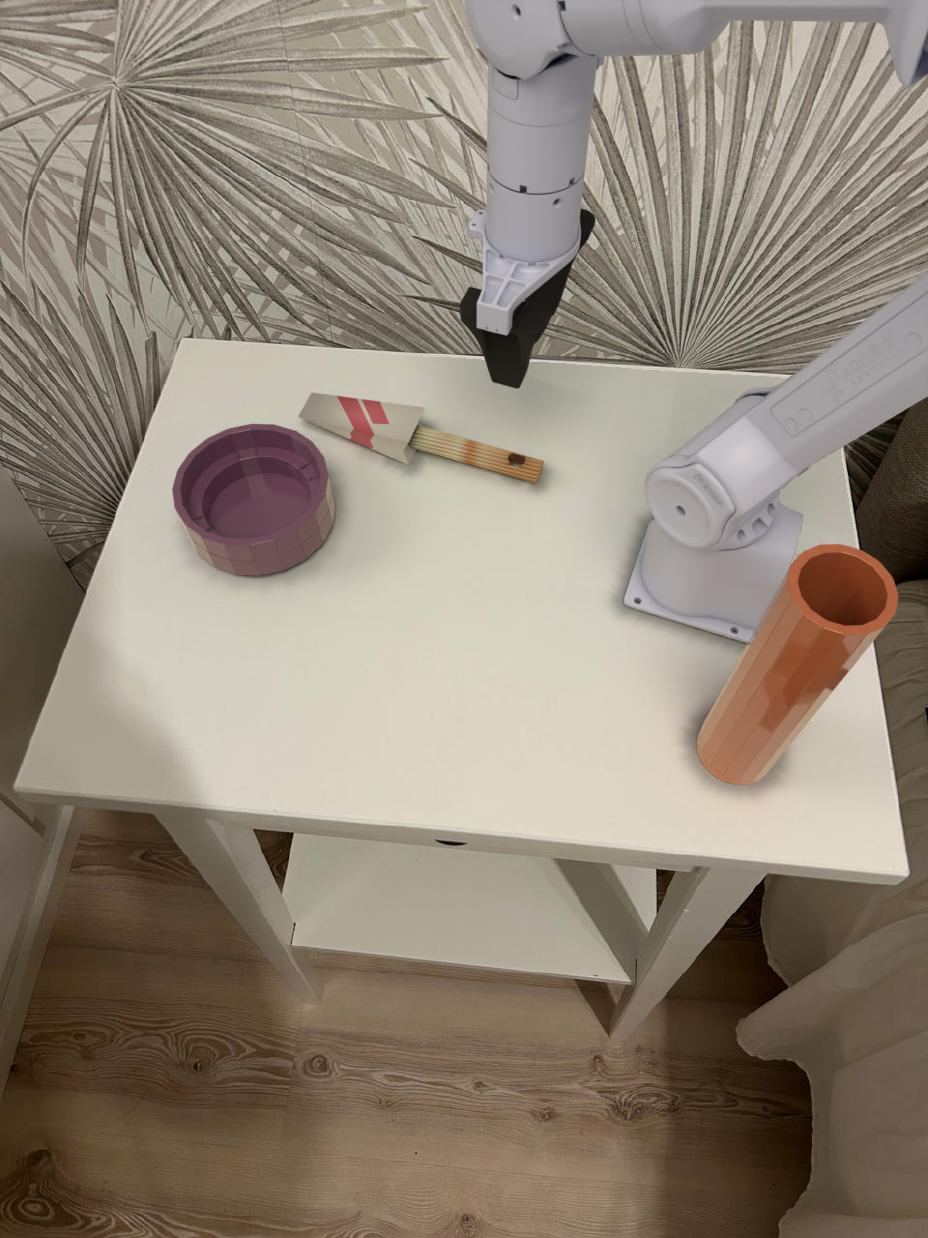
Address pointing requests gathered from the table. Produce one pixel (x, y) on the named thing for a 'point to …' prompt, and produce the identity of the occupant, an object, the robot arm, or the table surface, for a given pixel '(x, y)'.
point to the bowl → (255, 499)
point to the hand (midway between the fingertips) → (524, 344)
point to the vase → (796, 658)
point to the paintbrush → (409, 434)
